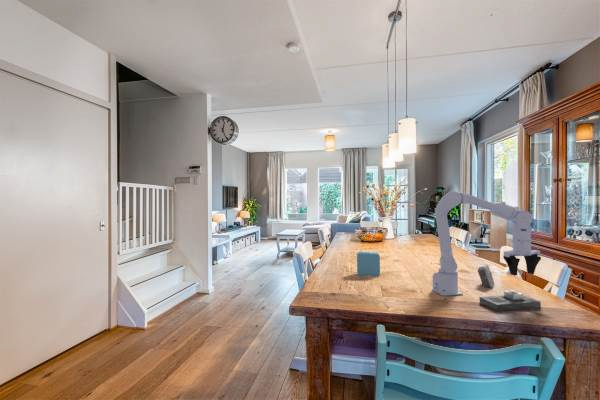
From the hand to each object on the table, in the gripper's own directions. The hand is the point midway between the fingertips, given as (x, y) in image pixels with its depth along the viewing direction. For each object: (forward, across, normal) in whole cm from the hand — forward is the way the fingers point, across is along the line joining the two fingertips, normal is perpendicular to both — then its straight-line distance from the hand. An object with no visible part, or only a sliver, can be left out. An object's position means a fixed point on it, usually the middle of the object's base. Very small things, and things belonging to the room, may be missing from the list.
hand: (522, 274), depth 110 cm
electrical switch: (+11, +2, +20) cm, 23 cm away
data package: (+11, -45, +48) cm, 67 cm away
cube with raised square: (+10, -8, -4) cm, 14 cm away
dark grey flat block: (+10, -10, -4) cm, 15 cm away
